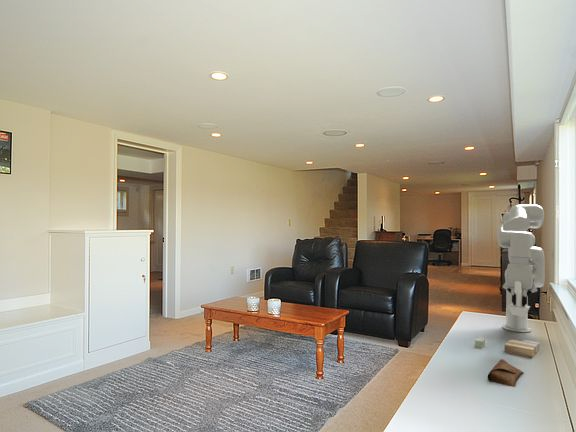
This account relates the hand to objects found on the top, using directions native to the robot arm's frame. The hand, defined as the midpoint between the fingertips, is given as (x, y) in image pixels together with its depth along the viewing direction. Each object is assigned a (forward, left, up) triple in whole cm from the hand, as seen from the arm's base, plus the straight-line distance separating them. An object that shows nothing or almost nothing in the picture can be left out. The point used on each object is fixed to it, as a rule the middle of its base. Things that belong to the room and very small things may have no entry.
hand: (519, 304), depth 168 cm
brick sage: (+4, -14, -19) cm, 24 cm away
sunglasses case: (+36, +3, -20) cm, 42 cm away
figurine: (0, 0, -4) cm, 4 cm away
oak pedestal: (0, +1, -19) cm, 19 cm away
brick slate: (-8, +3, -19) cm, 21 cm away
